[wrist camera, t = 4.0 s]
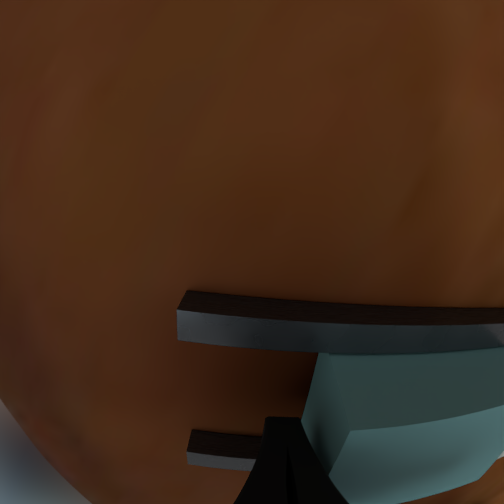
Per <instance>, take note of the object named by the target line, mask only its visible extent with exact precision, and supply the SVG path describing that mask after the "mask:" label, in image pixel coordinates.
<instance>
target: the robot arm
mask: <svg viewBox="0 0 504 504" xmlns="http://www.w3.org/2000/svg"><path fill="white" fill-rule="evenodd" d="M234 504H349V503H348V502H347V500H346V499H345V498H344V497H343V496H342V494H341V493H340V492H339V490H338V489H337V488H336V486H335V485H334V484H333V482H332V481H331V479H330V478H329V476H328V474H327V473H326V471H325V470H324V468H323V466H322V465H321V463H320V461H319V459H318V457H317V456H316V454H315V452H314V450H313V448H312V446H311V444H310V442H309V440H308V437H307V435H306V433H305V430H304V428H303V425H302V422H301V419H299V418H298V417H271V416H269V417H267V418H265V424H264V429H263V435H262V441H261V447H260V450H259V453H258V456H257V458H256V461H255V464H254V466H253V468H252V470H251V472H250V475H249V477H248V479H247V481H246V483H245V485H244V487H243V489H242V490H241V492H240V494H239V496H238V497H237V499H236V501H235V502H234Z"/></svg>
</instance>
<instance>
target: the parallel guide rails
mask: <svg viewBox="0 0 504 504" xmlns="http://www.w3.org/2000/svg"><path fill="white" fill-rule="evenodd" d="M177 333H178V340H181V341H189V342H196V343H204V344H213V345H222V346H232V347H242V348H253V349H266V350H280V351H297V352H318V353H419V352H439V351H455V350H468V349H479V348H489V347H498V346H504V308H432V307H400V306H376V305H356V304H338V303H322V302H307V301H294V300H281V299H269V298H257V297H246V296H235V295H225V294H215V293H205V292H196V291H186V293H185V295H184V297H183V299H182V301H181V303H180V304H179V306H178V308H177ZM261 441H262V437H252V436H239V435H229V434H220V433H211V432H204V431H197V430H192V431H191V435H190V439H189V443H188V447H187V460H188V464H192V465H198V466H205V467H213V468H222V469H232V470H243V471H251V470H252V468H253V466H254V464H255V461H256V458H257V456H258V453H259V450H260V447H261Z"/></svg>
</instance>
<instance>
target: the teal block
mask: <svg viewBox="0 0 504 504" xmlns="http://www.w3.org/2000/svg"><path fill="white" fill-rule="evenodd" d="M301 422H302V425H303V428H304V430H305V433H306V435H307V437H308V440H309V442H310V444H311V446H312V448H313V450H314V452H315V454H316V456H317V457H318V459H319V461H320V463H321V465H322V466H323V468H324V470H325V471H326V473H327V474H328V476H329V478H330V479H331V481H332V482H333V484H334V485H335V486H336V488H337V489H338V490H339V492H340V493H341V494H342V496H343V497H344V498H345V499H346V500H347V502H348V503H349V504H399V503H403V502H408V501H412V500H416V499H420V498H424V497H427V496H431V495H434V494H438V493H441V492H444V491H448V490H451V489H454V488H457V487H460V486H463V485H465V484H468V483H471V482H474V481H476V480H479V478H480V477H481V476H482V475H483V474H484V473H485V472H486V471H487V470H488V469H489V468H490V466H491V465H492V464H493V463H494V462H495V461H496V460H497V458H498V457H499V456H500V455H501V454H502V452H503V451H504V346H498V347H489V348H479V349H468V350H455V351H439V352H419V353H319V354H318V358H317V362H316V366H315V370H314V374H313V378H312V382H311V386H310V390H309V394H308V398H307V401H306V405H305V409H304V412H303V416H302V419H301Z"/></svg>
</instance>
